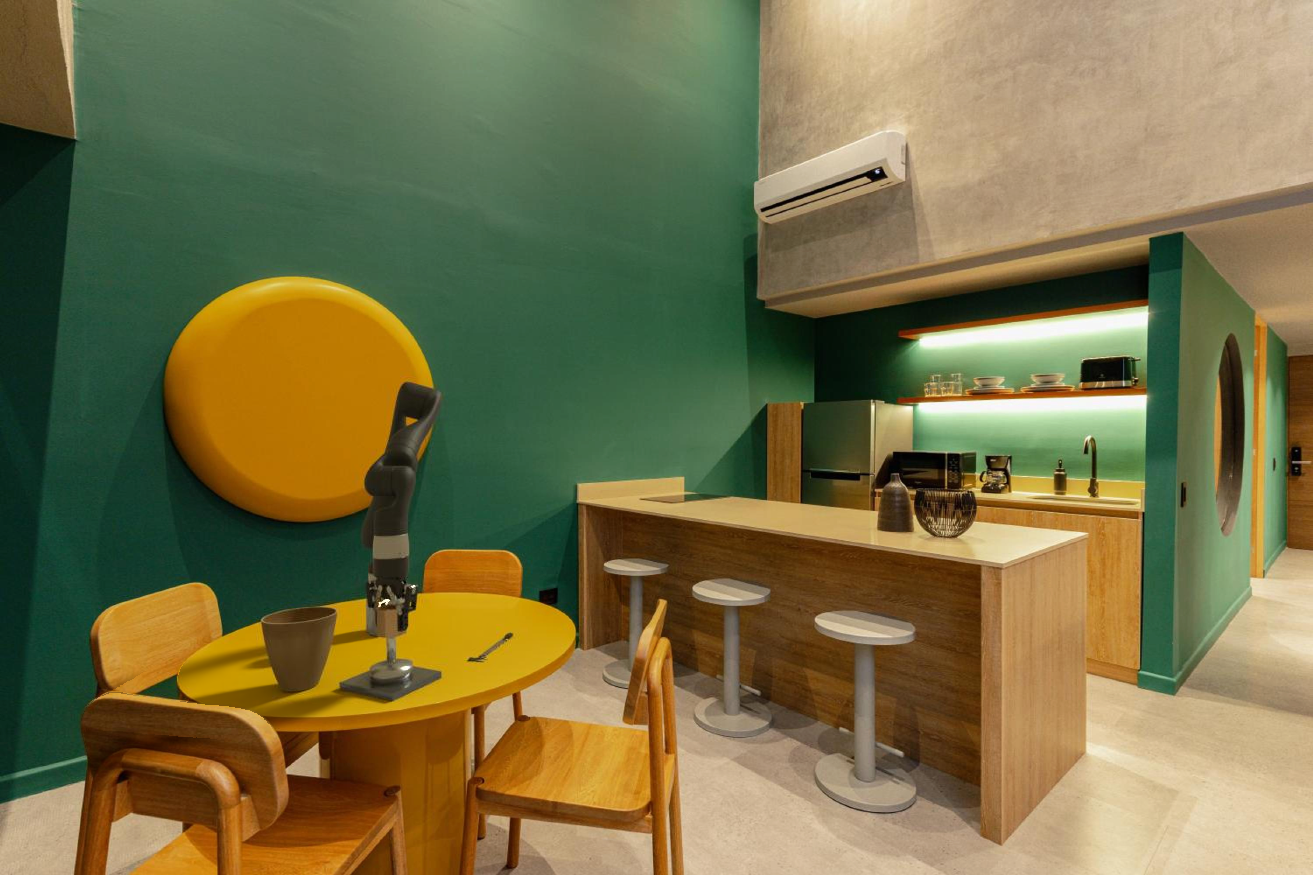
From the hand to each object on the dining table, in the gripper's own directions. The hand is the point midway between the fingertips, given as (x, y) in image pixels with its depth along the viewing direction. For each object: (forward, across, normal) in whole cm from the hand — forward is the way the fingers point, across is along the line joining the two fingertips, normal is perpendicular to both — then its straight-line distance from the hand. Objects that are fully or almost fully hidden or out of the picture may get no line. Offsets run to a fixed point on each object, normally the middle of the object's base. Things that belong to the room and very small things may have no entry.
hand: (391, 628), depth 140 cm
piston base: (+12, 0, 0) cm, 12 cm away
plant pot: (+12, -18, -9) cm, 24 cm away
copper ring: (+1, 0, 0) cm, 1 cm away
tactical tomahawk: (+13, +7, +29) cm, 32 cm away
